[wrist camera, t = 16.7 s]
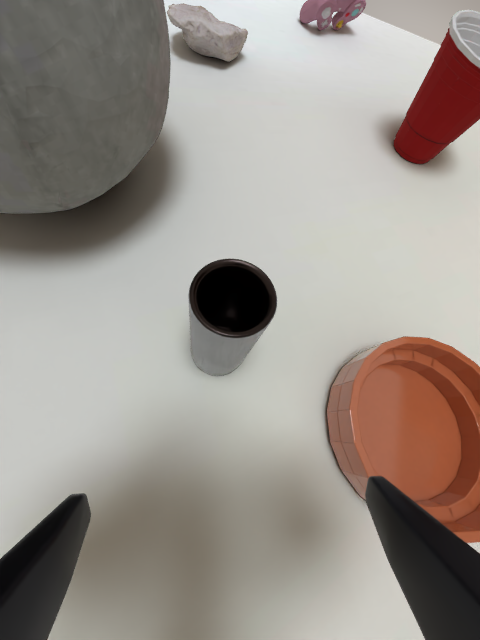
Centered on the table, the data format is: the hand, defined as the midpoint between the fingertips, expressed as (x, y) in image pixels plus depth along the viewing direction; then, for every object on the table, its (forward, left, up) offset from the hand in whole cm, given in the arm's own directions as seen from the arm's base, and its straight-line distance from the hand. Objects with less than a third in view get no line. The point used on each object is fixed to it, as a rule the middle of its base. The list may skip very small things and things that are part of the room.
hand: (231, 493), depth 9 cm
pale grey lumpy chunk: (+49, +19, -13) cm, 54 cm away
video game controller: (+70, +4, -13) cm, 71 cm away
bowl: (+7, -15, -12) cm, 21 cm away
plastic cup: (+45, -14, -13) cm, 49 cm away
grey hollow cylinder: (+8, +2, -13) cm, 15 cm away
